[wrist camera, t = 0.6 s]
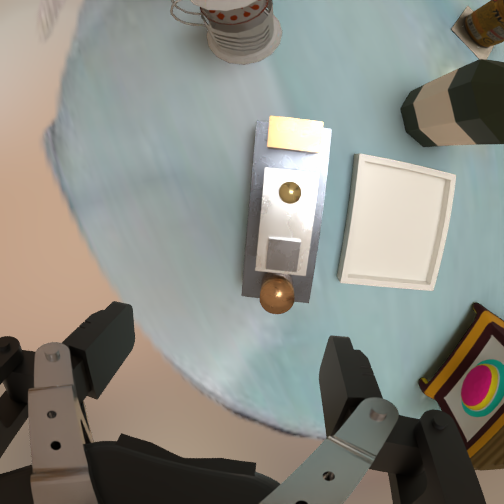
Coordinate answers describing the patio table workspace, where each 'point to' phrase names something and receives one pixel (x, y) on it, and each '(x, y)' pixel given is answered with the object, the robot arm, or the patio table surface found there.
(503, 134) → the wine bottle
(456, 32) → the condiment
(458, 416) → the decorative lantern
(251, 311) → the patio table surface
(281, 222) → the lever cap
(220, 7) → the french press
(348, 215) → the tray
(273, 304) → the plane body
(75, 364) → the robot arm
